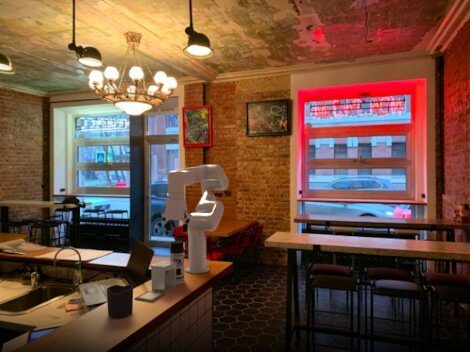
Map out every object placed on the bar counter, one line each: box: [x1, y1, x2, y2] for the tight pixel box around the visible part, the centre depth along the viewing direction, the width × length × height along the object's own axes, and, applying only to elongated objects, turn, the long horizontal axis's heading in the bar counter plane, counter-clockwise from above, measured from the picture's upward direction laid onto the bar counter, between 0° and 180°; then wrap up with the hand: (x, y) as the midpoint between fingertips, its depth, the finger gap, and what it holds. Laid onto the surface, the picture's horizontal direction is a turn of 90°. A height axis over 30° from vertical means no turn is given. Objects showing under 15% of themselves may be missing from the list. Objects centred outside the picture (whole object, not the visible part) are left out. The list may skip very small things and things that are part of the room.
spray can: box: [169, 240, 185, 286], centre depth 161 cm, size 7×7×20 cm
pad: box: [134, 290, 166, 303], centre depth 142 cm, size 9×9×1 cm
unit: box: [150, 259, 177, 295], centre depth 152 cm, size 10×8×12 cm
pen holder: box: [106, 284, 134, 320], centre depth 125 cm, size 9×9×10 cm
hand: (176, 231), depth 160 cm, fingers open, 9 cm apart
